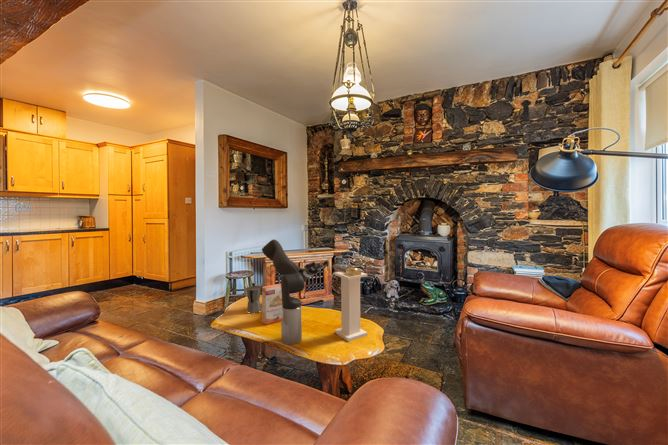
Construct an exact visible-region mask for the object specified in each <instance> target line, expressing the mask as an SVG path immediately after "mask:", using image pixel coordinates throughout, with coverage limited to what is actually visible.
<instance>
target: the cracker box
mask: <svg viewBox="0 0 668 445" xmlns="http://www.w3.org/2000/svg"><path fill="white" fill-rule="evenodd" d="M261 309H262V311H261V312H262V313H261V315H262V316H261V317H262V318H261V319H262V320H261V321H262V323H263V324H264V325H265V326H267V325H271V324H272V325H273V324H275V323H281V322H282V321H283V311H282V291H281V282H280V283H276V284H271V285H264V286H261Z"/></svg>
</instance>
